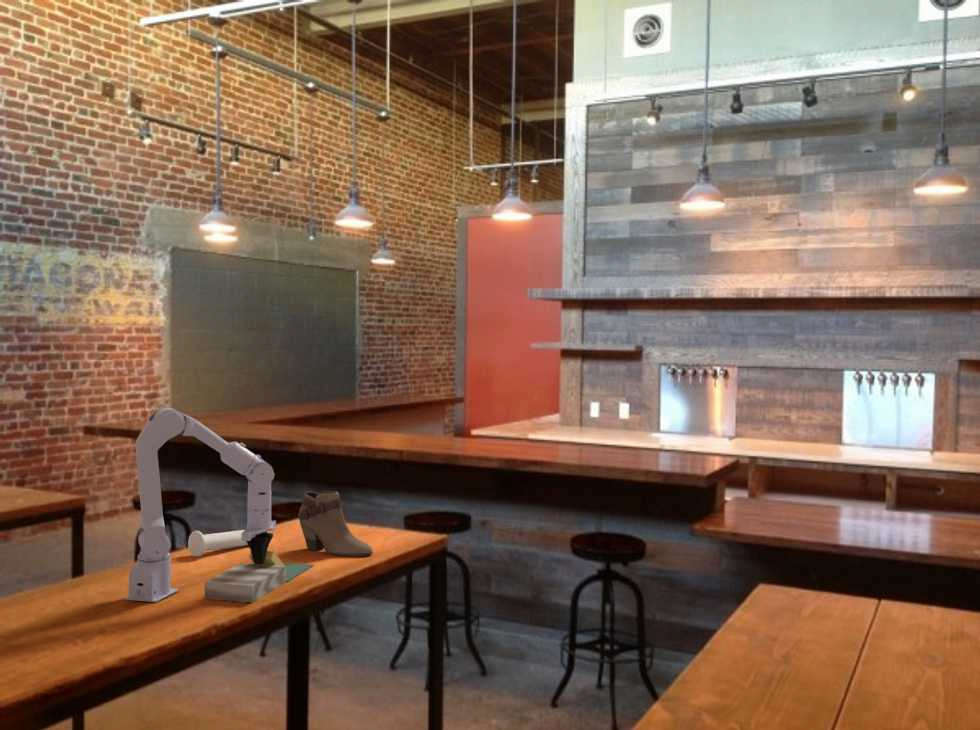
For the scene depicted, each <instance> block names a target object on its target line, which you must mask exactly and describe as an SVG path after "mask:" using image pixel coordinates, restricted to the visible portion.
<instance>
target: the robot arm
mask: <svg viewBox="0 0 980 730" xmlns="http://www.w3.org/2000/svg"><path fill="white" fill-rule="evenodd" d="M179 434H180V435H182V437H183V436H184V437H185V436H186V437H195V438H196V439H197V440H199V441H201V442H202V443H204V444H206V445H207V446H209V447H210V448H212V449H213V450H214V451H216V452H218V453H219V454H220V455H219V456H220V460H221V462H223V463H224V464H225V465H227V466H229V467H230V468H231V469H233V470H235V471H236V472H237V473H239V474H241V475H242V476H245V478H246V479H247V484H248V485H247V487H248V488H247V510H246V511H247V513H246V514H247V516H246V517H247V520H246V521H247V522H246V524H247V525H246V527H245V529H243V530H244V532H242V541H246V542H247V543H248V545H247V546H248V547H249V549H250V553H252V557H253V561H254V563H253V564H263V563H264V561H265V557H266V553H267V551H268V548H269V546H270V543H271V541H272V539H273V537H274V533H272V532H273V531H275V530H276V529H277V520H272V481H273V480H274V477H275V472H274V469H273V467H272V465H271V464H270V463H268V462H267V461H265V460H264V459H263V458H262V456H261V455H260V454H255V453H253V452H252V451H250V450H249V449H248V448H246V446H247V445H246V444H245V443H243V442H238V441H230V442H228V441H226V440H224V439H223V438H222V437H220V435H218V434H216V433H215V432H214V431H212V430H211V429H210V428H208V427H207V426H205V425H204V424H203V423H201V422H200V421H199V420H197V419H196V418H193V417H191V416H189V415H187V414H186V413H185V414H184V413H182V412H181V411H178V410H176V409H175V408H174V407H171V406H162V407H160V408H158V409H157V410H155V411H154V412H153V413H151V415H149V416H148V418H147V420H146V423H145V424H144V426H143V428H142V429H141V431H140V433H139V435H138V437H136V440H135V443H134V444H135V447H134V448H135V456H136V457H135V458H136V467H137V479H138V491H139V501H140V502H139V503H140V513H141V514H140V515H141V518H140V519H141V521H140V527H141V529H140V532H139V534H138V537H137V540H138V545H139V547H140V548H141V550H140V552H139V554H137V559H136V563H135V564H134V565H133V566H132V567H131V568H130V569H129V573H128V596H126V597H125V598H124V599H125V601H137V602H146V603H147V602H150V603H157V602H159V601H160V600H161V601H162V600H163V599H165V598H166V597H169V596H171V595H173V594H175V593H177V592H178V591H179V589H178V588H171V552H170V550H171V546H172V543H171V540H170V538H169V536H168V535H167V533H166V532H167V531H166V526H165V520H164V515H163V513H164V512H163V503H162V490H161V479H160V478H161V477H160V467H159V457H158V456H159V455H158V451H159V449H161V448H162V446H163V445H164V444H166V442H167V441H168V440H170V439H173V438H174V437H176V436H178V435H179ZM253 561H252V562H253Z"/></svg>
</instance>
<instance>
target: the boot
mask: <svg viewBox="0 0 980 730" xmlns="http://www.w3.org/2000/svg"><path fill="white" fill-rule="evenodd" d="M297 518H298V521H299V524H300V527H301V531H302V535H303V537H304V541H305V545H306V548H307V550H309V551H313V552H318V551H323V550H324V551H325V552H326V554H328V555H331V556H332V555H333V556H341V557H366V556H370V555H372V554H373V552H374V551H373V548H372V546H371V545H370V544H368V543H366V542H364V541H362V540H361V539H359V538H357V537H356V536H354V534H353V533H352V531H351V530H350V529H349V526H348V525H347V523H346V520H345V516H344V513H343V508H342V500H341V497H340V494H339V492H338V491H336V490H333V491H332V490H331V491H324V492H323V493H319V492H315V491H309V490H307V491H306V492H305V493H304V494H303V498H302V503H301V505H300V507H299V511H298V514H297Z"/></svg>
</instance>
